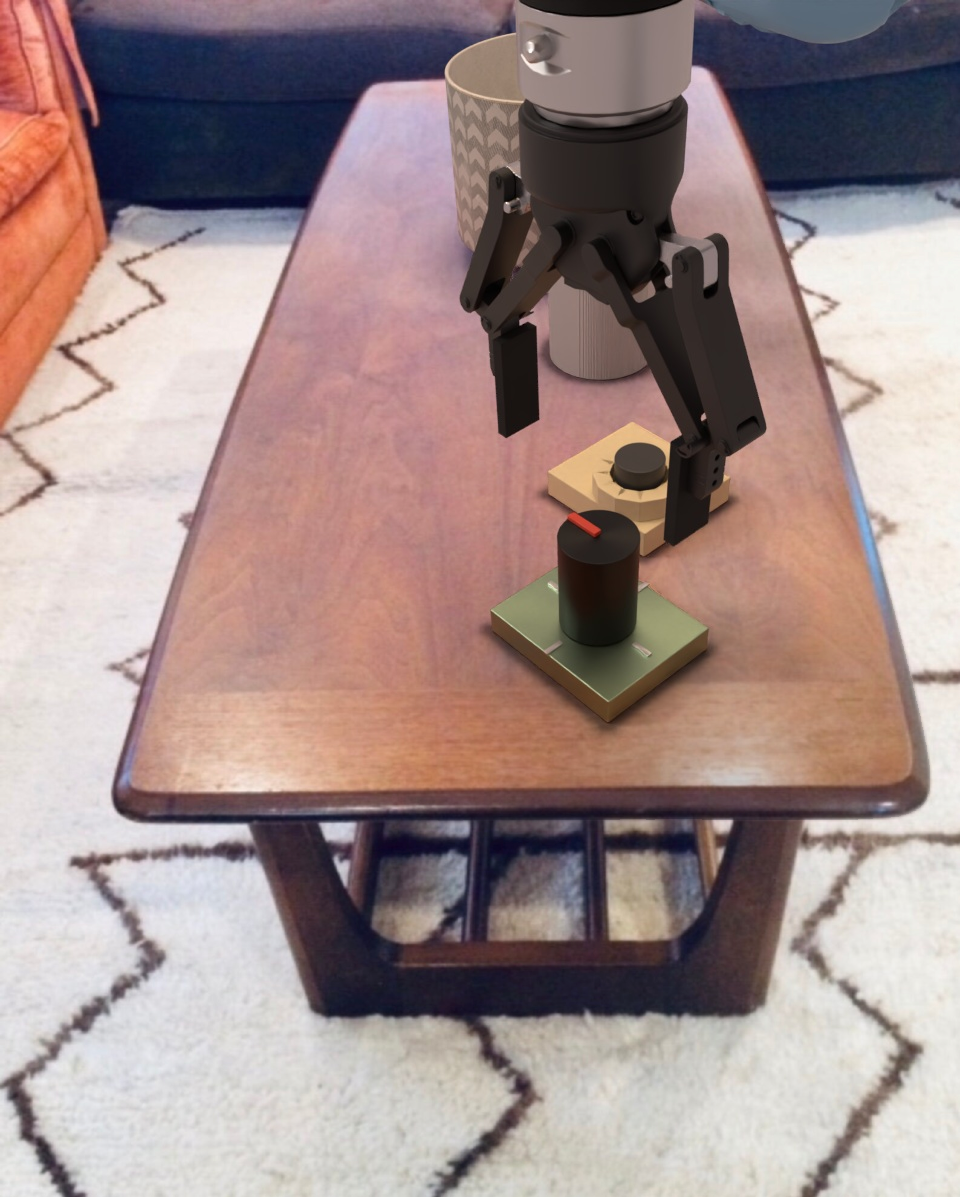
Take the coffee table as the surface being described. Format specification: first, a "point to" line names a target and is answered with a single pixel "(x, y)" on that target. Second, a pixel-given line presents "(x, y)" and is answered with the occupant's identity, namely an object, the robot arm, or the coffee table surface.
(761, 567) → the coffee table surface
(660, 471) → the button
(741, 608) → the coffee table surface
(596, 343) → the cup
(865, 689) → the coffee table surface
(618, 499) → the button box
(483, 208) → the planter
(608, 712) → the dial panel
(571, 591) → the knob
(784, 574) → the coffee table surface
